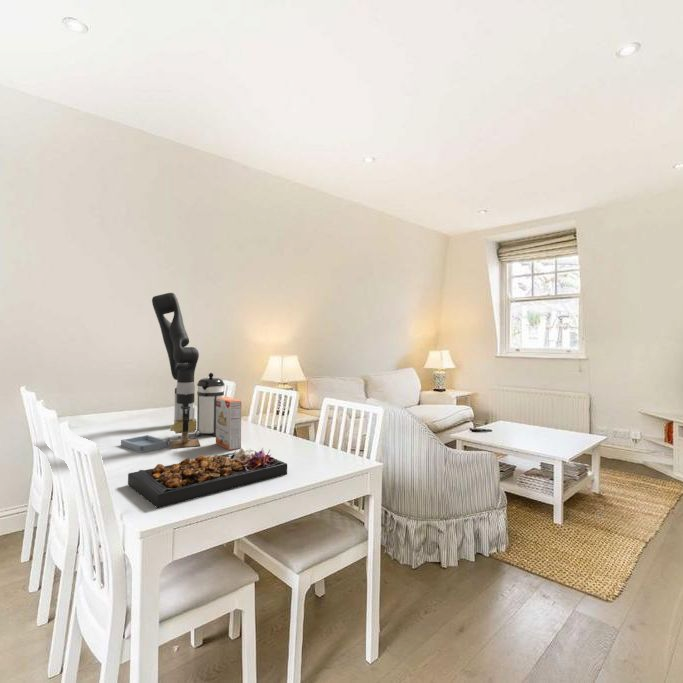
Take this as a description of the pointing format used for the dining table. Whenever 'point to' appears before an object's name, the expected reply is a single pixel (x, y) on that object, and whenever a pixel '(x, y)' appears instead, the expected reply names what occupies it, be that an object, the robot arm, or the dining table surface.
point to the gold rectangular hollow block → (179, 425)
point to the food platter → (204, 476)
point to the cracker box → (228, 423)
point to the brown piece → (184, 441)
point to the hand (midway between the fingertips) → (184, 429)
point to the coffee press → (208, 403)
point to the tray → (144, 443)
